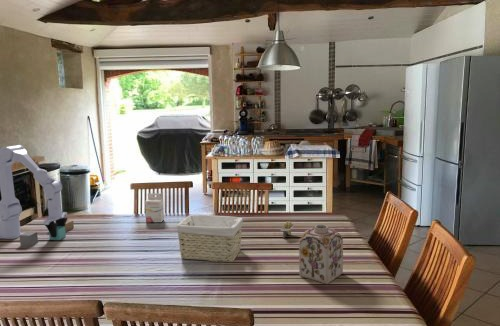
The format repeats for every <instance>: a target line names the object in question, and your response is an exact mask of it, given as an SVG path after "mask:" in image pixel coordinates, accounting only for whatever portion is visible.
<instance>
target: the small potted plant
mask: <svg viewBox="0 0 500 326" xmlns="http://www.w3.org/2000/svg"><path fill="white" fill-rule="evenodd" d="M293 227H294V224H292V221H289V220H288V221H286V222H285V224H283V226H282V227H281V228H280V231H282V235H283V236H282V239H283V240H284V239H285V238H286V237H287V236H292V228H293Z"/></svg>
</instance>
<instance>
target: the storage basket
mask: <svg viewBox="0 0 500 326" xmlns="http://www.w3.org/2000/svg"><path fill="white" fill-rule="evenodd" d="M243 220H244V219H243V217H238V216H228V215H226V216H225V215H208V214H189V215H188V216H186V217H185V218H184V219H182V220H181V221H180V222H179V223H178V224H177V225H176V232H177V238H178V244H179V253H180V257H181V259H184V260H198V261H201V260H202V261H209V262H224V263H233V262H234V260H236V258H237V256H238V255H239V253H240V251H241V246H242V245H241V242H242V225H243V224H244V221H243Z"/></svg>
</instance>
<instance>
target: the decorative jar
mask: <svg viewBox="0 0 500 326" xmlns="http://www.w3.org/2000/svg"><path fill="white" fill-rule="evenodd" d="M298 252H299V253H298V255H299V257H298V260H299V263H298V264H299V266H298V267H299V268H298V269H299V271H298V272H299V277H301V278H304V279H309V280H311V281H316V282H319V283H322V284H325V285H328V284H330V283H331V282H332V281H334V280H336V279H337V278H338V277H340V276H341V275H342V274H343V273H344V270H343V268H344V237H342V235H341V234H340V233H339V232H338V231H336V229H333V228H329V226H328V225H326V224H316V225H315V226H314V227H311V228H308V229H306V230H304V232H303V234H302V235H301V237H300V239H299V249H298Z"/></svg>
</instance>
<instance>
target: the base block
mask: <svg viewBox="0 0 500 326" xmlns="http://www.w3.org/2000/svg"><path fill="white" fill-rule="evenodd" d="M54 222H55V223H56V221H54ZM74 227H75V225H74V220H71V219H70V220H68V219H67V221H66V224H65V232H68V231H70V230H72V229H74Z"/></svg>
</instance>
